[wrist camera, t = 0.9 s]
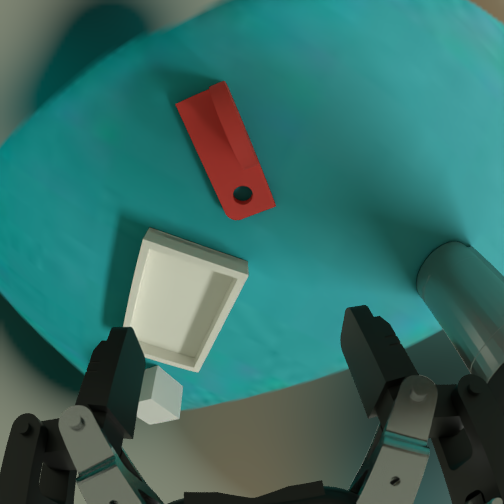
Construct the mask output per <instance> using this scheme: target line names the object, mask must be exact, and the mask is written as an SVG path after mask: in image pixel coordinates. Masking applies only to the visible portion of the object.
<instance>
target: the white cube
mask: <svg viewBox="0 0 504 504" xmlns="http://www.w3.org/2000/svg"><path fill="white" fill-rule="evenodd" d="M182 391H183V386H182V385H180V384H179V383H178V382H177V381H176V380H174V379H173V378H172V377H171V376H170V375H168V374H167V373H166V372H165V371H164V370H163V369H161V368H160V367H159V366H158V365H157V366H154V367H151V368H148V369H145V371H144V377H143V382H142V387H141V393H140V398H139V404H138V410H137V417H139V418H140V419H142V420H143V421H145V422H146V423H148V424H155V423H161V422H166V421H170V420H175V419H179V418H180V408H181V399H182Z"/></svg>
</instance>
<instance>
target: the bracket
mask: <svg viewBox="0 0 504 504" xmlns="http://www.w3.org/2000/svg"><path fill="white" fill-rule="evenodd" d="M175 105H176V107H177V109H178V111H179V113H180V116H181V118H182V120H183V122H184V124H185V127H186V129H187V131H188V133H189V135H190V138H191V140H192V142H193V144H194V146H195V148H196V151H197V153H198V155H199V157H200V159H201V162H202V164H203V166H204V168H205V170H206V172H207V175H208V177H209V179H210V181H211V183H212V185H213V188H214V190H215V192H216V194H217V196H218V198H219V201H220V203H221V205H222V207H223V209H224V211H225V213H226V215H227V216H228V217H229V218H231V219H233V220H240V219H243V218H246V217H248V216H251V215H254V214H256V213H259V212H262V211H265V210H267V209H270V208H273V207H275V206H276V205H275V202H274V199H273V197H272V194H271V191H270V189H269V186H268V184H267V181H266V178H265V176H264V173H263V171H262V168H261V166H260V163H259V161H258V158H257V156H256V153H255V151H254V148H253V146H252V143H251V141H250V138H249V136H248V134H247V131H246V129H245V126H244V124H243V121H242V119H241V117H240V114H239V112H238V109H237V107H236V105H235V102H234V100H233V98H232V95H231V93H230V91H229V88H228V86H227V84H226V82H225V81H222V82H219V83H217V84H215V85H212V86H210V87H209V89H208V90H206V91H203V92H201V93H199V94H196V95H194V96H192V97H190V98H188V99H185V100H183V101H181V102H179V103H177V104H175ZM239 186H247V187H249V188H250V189H251V190H252V196H251V197H250V198H249V199H248V200H246V201H240V200H237V199H236V198H235V197H234V195H233V192H234V190H235V189H236V188H237V187H239Z"/></svg>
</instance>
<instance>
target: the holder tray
mask: <svg viewBox="0 0 504 504" xmlns="http://www.w3.org/2000/svg"><path fill="white" fill-rule="evenodd" d="M248 275H249V273H248V261H245V260H242V259H239V258H236V257H233V256H231V255H228V254H225V253H222V252H219V251H216V250H213V249H210V248H207V247H205V246H202V245H199V244H196V243H193V242H190V241H187V240H185V239H182V238H179V237H176V236H173V235H170V234H167V233H165V232H162V231H159V230H156V229H153V228H150V227H149V229H148V231H147V233H146V234H145V236H144V238H143V241H142V245H141V249H140V253H139V256H138V260H137V265H136V269H135V273H134V277H133V282H132V286H131V290H130V295H129V300H128V305H127V309H126V314H125V320H124V325H123V327H132V328H133V330H134V332H135V334H136V337H137V339H138V341H139V344H140V346H141V349H142V351H143V353H144V357H146V358H149V359H152V360H155V361H158V362H162V363H165V364H169V365H172V366H176V367H179V368H183V369H186V370H190V371H194V372H199V370H200V368H201V366H202V364H203V362H204V360H205V359H206V357H207V355H208V353H209V351H210V349H211V347H212V345H213V343H214V341H215V339H216V337H217V335H218V334H219V332H220V330H221V328H222V326H223V324H224V322H225V320H226V318H227V316H228V314H229V312H230V310H231V308H232V306H233V305H234V303H235V301H236V299H237V297H238V295H239V293H240V291H241V289H242V287H243V285H244V283H245V281H246V279H247V277H248Z"/></svg>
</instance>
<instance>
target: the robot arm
mask: <svg viewBox="0 0 504 504" xmlns="http://www.w3.org/2000/svg"><path fill="white" fill-rule="evenodd" d="M416 286H417V291H418V293H419V295H420V296H421V298H422V299H423V301H424V302H425V303H426V305H427V306H428V308H429V309H430V311H431V312H432V314H433V315H434V317H435V318H436V319H437V321H438V322H439V324H440V325H441V327H442V328H443V330H444V331H445V333H446V334H447V336H448V337H449V339H450V341H451V342H452V344H453V345H454V347H455V348H456V350H457V351H458V353H459V355H460V356H461V358H462V360H463V361H464V363H465V364H466V366H467V368H468V370H469V371H470V373H471V374H468V375H465V376H463V377H462V378H461V379H460V381H459V382H458V384H455V385H454V384H452V385H436V384H434V382H433V381H432V380H430V379H429V378H427V377H425V376H422V375H419V374H418V373H417V371H416V369H415V367H414V365H413V363H412V362H411V360H410V358H409V356H408V355H407V353H406V351H405V349H404V348H403V346H402V344H400V341H399V339H398V337H397V336H396V334H395V332H394V330H393V329H392V327H391V325H390V324H389V323H388V322H387V321H385V320H384V319H383V318H382V317H380V316H377V317H373V315H372V313H371V311H370V310H369V308H368V306H366V305H362V306H355V307H349V308H347V309H346V311H345V316H344V321H343V327H342V332H341V348H342V352H343V354H344V357H345V359H346V362H347V364H348V367H349V369H350V372H351V374H352V377H353V379H354V382H355V385H356V387H357V390H358V393H359V395H360V398H361V400H362V403H363V406H364V408H365V411H366V414H367V417H368V418H372V417H376V416H378V418H379V420H380V424H379V426H378V428H377V431H376V433H375V436H374V438H373V440H372V443H371V445H370V448H369V450H368V452H367V455H366V457H365V459H364V461H363V464H362V466H361V467H360V469H359V471H358V473H357V474H356V476H355V478H354V480H353V482H352V483H351V485H350V487H349V489H348V490H345V489H341V488H337V487H329V486H323V483H322V481H316V482H311V483H306V484H300V485H294V486H288V487H285V488H283V489H280V490H277V491H275V492H271V493H269V494H266V495H263V496H260V497H256V498H248V497H241V496H235V495H229V494H223V493H218V492H210V493H208V492H206V493H205V492H202V493H201V492H200V493H199V492H198V493H197V492H184V498H183V499H179V500H176V501H173V502H171V503H168V504H413V502H414V499H415V497H416V494H417V491H418V488H419V485H420V483H421V480H422V477H423V474H424V470H425V467H426V464H427V461H428V457H429V453H430V448H429V447H427V440H428V438H431V440H432V442H433V445H434V448H435V451H436V454H437V457H438V459H439V462H440V465H441V468H442V471H443V474H444V477H445V481H446V484H447V487H448V490H449V494H450V497H451V500H452V504H504V276H503V275H502V274H501V273H500V272H499V271H498V270H497V269H496V268H495V267H494V266H493V265H492V264H491V263H490V262H488V261H487V260H486V259H485V258H484V257H483V256H482V255H481V254H480V253H479V252H478V251H477V250H476V249H474V248H473V247H472V246H471V247H466V246H465V245H464V244H463V243H460V242H449V243H446V244H444V245H442V246H440V247H439V248H437V249H436V250H435V251H433V252H432V253H431V254H430V255H429V257H428V258H427V259H426V260H425V262H424V263H423V265H422V267H421V269H420V271H419V273H418V277H417V284H416ZM144 371H145V357H144V353H143V351H142V349H141V346H140V344H139V341H138V339H137V337H136V334H135V332H134V330H133V328H132V327H113V328H112V329H111V331H110V334H109V336H108V339H107V341H101V342H100V343H99V345H98V346H97V347H96V348H95V349H94V351H93V353H92V356H91V359H90V363H89V365H88V367H87V372H86V373H85V376H84V379H83V382H82V385H81V388H80V392H79V395H78V398H77V401H76V404H75V406H72V407H69V408H67V409H66V410H65V411H64V412H63V413H62V415H61V417H60V418H58V419H53V420H46V421H40V420H39V419H38V418H37V417H36V416H35V415H33V414H30V413H26V414H23V415H20V416H19V417H18V418H17V419H16V420H15V421H14V423H13V425H12V428H11V432H10V435H9V439H8V442H7V447H6V451H5V455H4V459H3V463H2V467H1V472H0V504H74V491H75V483H76V482H77V485H78V487H79V489H80V491H81V493H82V495H83V497H84V499H85V501H86V502H87V504H164V503H163V501H162V500H161V499H160V498H159V497H158V495H157V494H156V493H155V492H154V491H153V490H152V489H151V488H150V487H149V486H148V484H147V483H146V482H145V480H144V479H143V477H142V476H141V475H140V473H139V472H138V470H137V469H136V467H135V466H134V464H133V463H132V462H131V460H130V458H129V457H128V455H127V453H126V452H125V450H124V449H123V447H122V442H123V438H127V439H133V435H134V429H135V422H136V416H137V410H138V404H139V398H140V393H141V387H142V382H143V377H144ZM42 463H43V465H42ZM41 468H42V471H41ZM77 471H78V474H79V477H77V478H76V475H77ZM40 474H41V477H40ZM39 480H40V483H39Z"/></svg>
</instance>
